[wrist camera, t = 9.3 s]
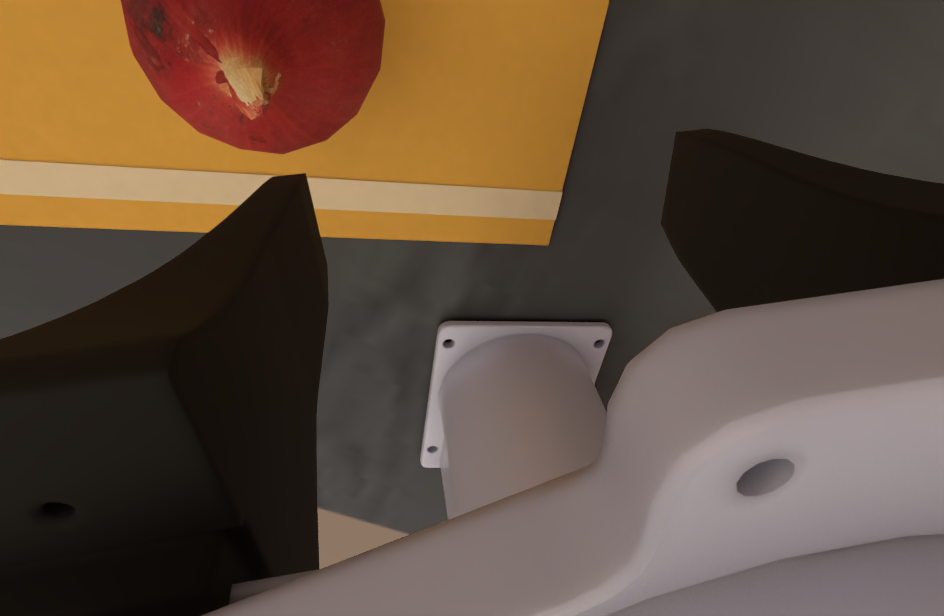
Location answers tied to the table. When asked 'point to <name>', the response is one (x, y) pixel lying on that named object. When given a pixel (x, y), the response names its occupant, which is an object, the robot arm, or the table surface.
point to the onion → (259, 65)
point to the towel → (326, 163)
